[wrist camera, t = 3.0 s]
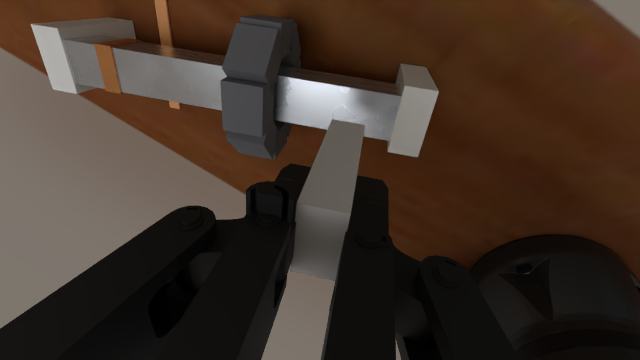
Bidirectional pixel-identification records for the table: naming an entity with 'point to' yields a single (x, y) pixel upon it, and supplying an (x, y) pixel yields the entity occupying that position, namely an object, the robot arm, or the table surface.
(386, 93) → the light grey bar
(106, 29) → the stand
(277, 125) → the ring
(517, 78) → the table surface
